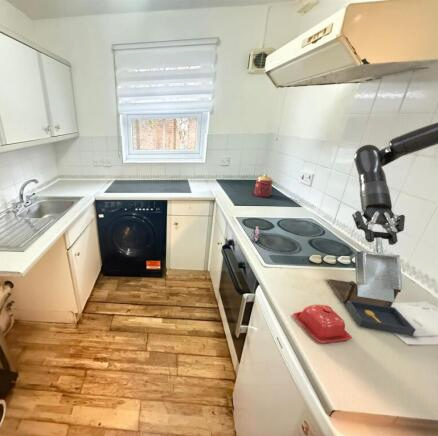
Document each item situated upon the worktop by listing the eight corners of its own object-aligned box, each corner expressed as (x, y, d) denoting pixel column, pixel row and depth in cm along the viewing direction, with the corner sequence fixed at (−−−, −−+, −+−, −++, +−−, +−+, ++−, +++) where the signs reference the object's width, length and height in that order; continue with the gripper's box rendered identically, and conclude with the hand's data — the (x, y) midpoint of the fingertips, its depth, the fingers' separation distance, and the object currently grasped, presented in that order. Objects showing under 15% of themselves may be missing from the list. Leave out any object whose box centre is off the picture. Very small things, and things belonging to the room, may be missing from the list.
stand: (327, 281, 94) (334, 262, 91) (369, 287, 91) (378, 268, 87) (342, 303, 83) (350, 283, 80) (391, 311, 80) (401, 290, 76)
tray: (392, 313, 79) (395, 307, 78) (412, 336, 70) (415, 329, 69) (345, 305, 82) (347, 300, 81) (359, 326, 74) (362, 320, 73)
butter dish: (321, 312, 79) (328, 292, 76) (353, 342, 68) (363, 320, 65) (289, 316, 78) (296, 295, 74) (317, 347, 67) (326, 324, 64)
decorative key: (256, 233, 140) (256, 243, 122) (254, 233, 140) (254, 242, 122) (259, 222, 138) (259, 230, 120) (256, 222, 139) (256, 230, 121)
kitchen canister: (262, 198, 192) (266, 176, 185) (250, 194, 203) (253, 173, 196) (273, 196, 197) (278, 175, 190) (261, 192, 208) (264, 172, 201)
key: (361, 310, 79) (362, 309, 79) (370, 311, 79) (370, 310, 79) (376, 325, 73) (377, 324, 73) (386, 325, 73) (386, 324, 73)
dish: (353, 232, 84) (362, 229, 80) (388, 235, 82) (399, 232, 77) (356, 296, 79) (366, 297, 75) (392, 302, 77) (405, 303, 72)
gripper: (357, 190, 81) (362, 236, 76) (408, 193, 78) (418, 242, 72) (344, 199, 88) (349, 243, 83) (391, 203, 85) (399, 248, 79)
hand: (381, 242), depth 77 cm, fingers closed on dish, 5 cm apart
